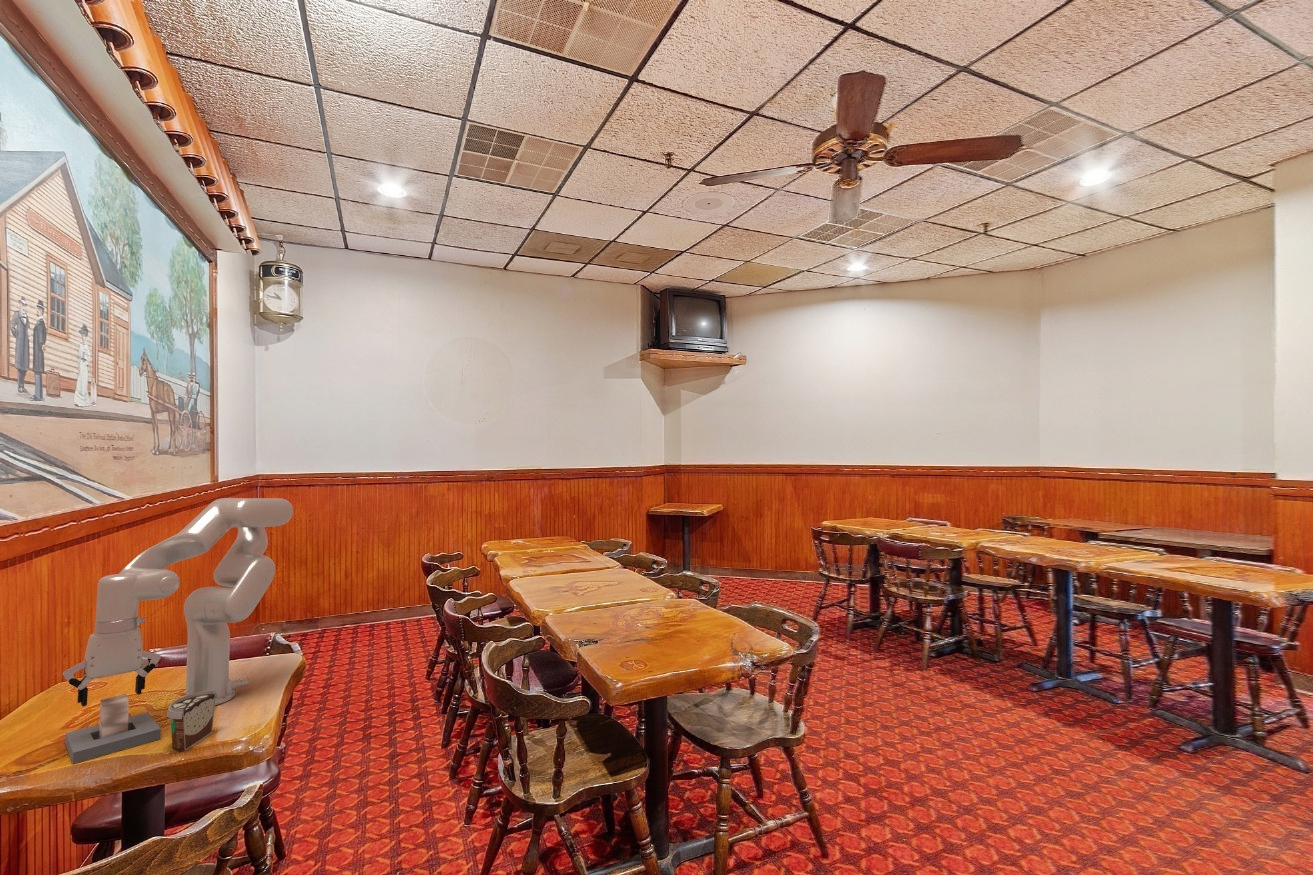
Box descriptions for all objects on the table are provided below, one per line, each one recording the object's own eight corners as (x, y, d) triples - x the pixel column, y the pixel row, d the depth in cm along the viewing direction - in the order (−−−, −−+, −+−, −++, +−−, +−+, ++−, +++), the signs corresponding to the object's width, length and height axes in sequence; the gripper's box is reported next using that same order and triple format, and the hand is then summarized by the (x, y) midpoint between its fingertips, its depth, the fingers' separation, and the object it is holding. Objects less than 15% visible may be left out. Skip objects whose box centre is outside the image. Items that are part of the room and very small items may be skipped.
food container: (190, 730, 145) (191, 690, 145) (216, 729, 145) (217, 689, 146) (151, 755, 133) (153, 710, 133) (180, 754, 133) (181, 709, 133)
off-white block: (124, 735, 143) (125, 693, 143) (127, 740, 140) (128, 698, 140) (98, 742, 139) (100, 699, 140) (101, 747, 136) (103, 704, 137)
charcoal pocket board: (147, 721, 150) (147, 711, 150) (160, 739, 140) (160, 728, 140) (65, 743, 138) (65, 732, 139) (73, 763, 129) (73, 752, 129)
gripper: (159, 617, 149) (155, 685, 148) (63, 630, 136) (58, 705, 135) (165, 621, 145) (161, 692, 143) (67, 636, 131) (62, 714, 130)
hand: (111, 698), depth 139 cm, fingers open, 9 cm apart
